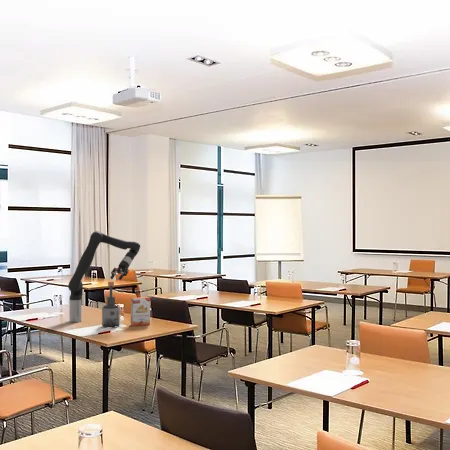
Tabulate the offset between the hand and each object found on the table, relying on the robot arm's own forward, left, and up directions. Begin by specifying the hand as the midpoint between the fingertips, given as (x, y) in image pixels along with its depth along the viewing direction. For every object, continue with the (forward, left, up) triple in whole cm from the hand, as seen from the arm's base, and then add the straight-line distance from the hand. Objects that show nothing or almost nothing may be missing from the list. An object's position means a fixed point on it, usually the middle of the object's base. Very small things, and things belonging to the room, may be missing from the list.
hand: (115, 279), depth 406 cm
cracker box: (+6, +18, -35) cm, 40 cm away
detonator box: (+5, -4, -35) cm, 36 cm away
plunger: (+3, -4, -14) cm, 15 cm away
